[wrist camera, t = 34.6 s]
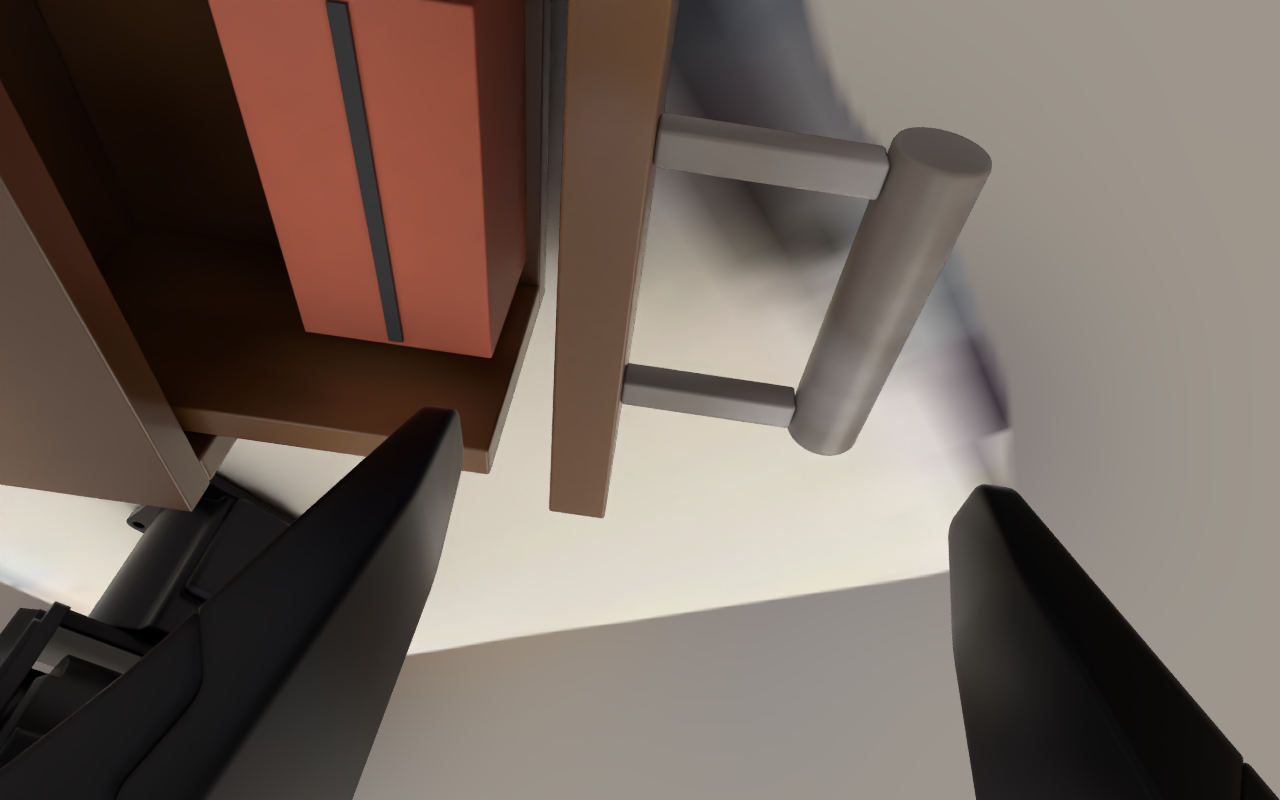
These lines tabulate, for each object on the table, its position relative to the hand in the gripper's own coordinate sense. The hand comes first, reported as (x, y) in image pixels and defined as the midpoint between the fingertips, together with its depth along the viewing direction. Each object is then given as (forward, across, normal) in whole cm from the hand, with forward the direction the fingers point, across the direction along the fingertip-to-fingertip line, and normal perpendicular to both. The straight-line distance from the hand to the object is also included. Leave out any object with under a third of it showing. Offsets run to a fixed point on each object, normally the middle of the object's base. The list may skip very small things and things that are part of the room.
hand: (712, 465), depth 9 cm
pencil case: (+9, +6, 0) cm, 11 cm away
